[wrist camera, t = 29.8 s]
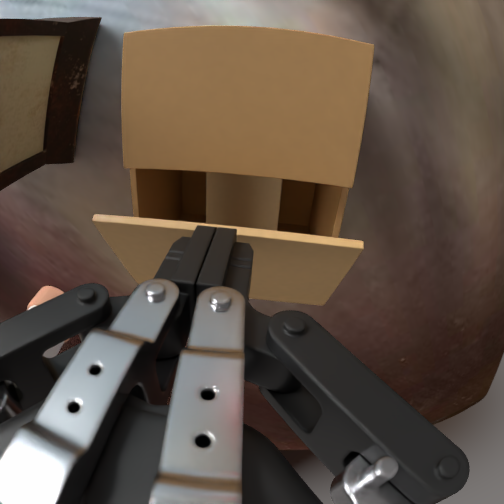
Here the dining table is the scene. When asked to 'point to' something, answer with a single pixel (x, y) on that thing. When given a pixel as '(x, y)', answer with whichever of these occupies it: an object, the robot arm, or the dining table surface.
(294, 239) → the flap
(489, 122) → the dining table surface
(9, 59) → the lantern
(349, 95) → the carton
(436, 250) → the dining table surface
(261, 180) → the block
